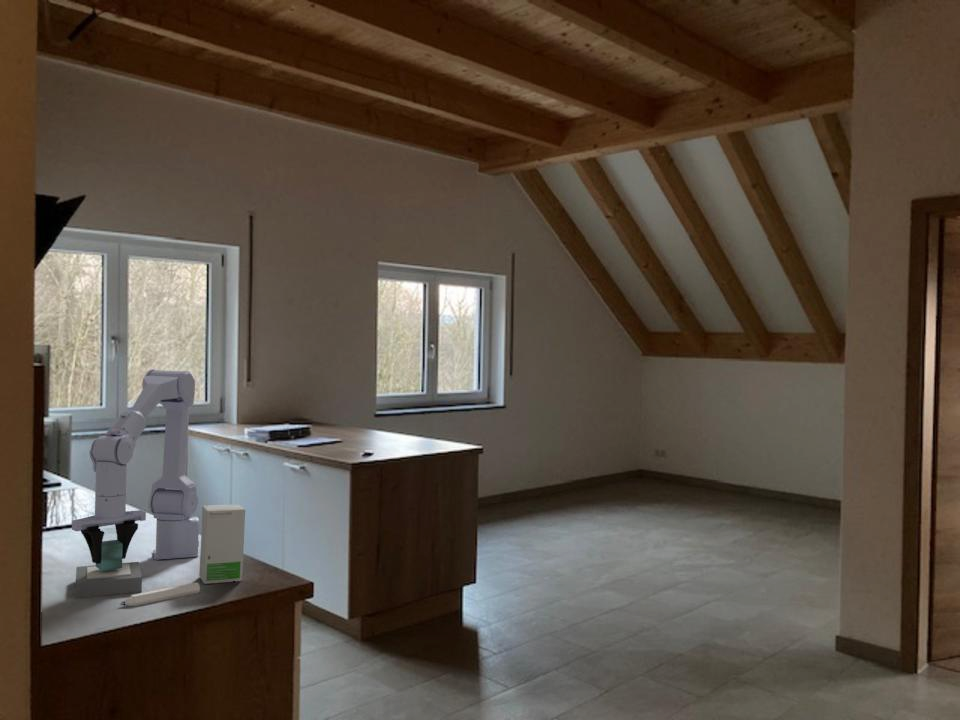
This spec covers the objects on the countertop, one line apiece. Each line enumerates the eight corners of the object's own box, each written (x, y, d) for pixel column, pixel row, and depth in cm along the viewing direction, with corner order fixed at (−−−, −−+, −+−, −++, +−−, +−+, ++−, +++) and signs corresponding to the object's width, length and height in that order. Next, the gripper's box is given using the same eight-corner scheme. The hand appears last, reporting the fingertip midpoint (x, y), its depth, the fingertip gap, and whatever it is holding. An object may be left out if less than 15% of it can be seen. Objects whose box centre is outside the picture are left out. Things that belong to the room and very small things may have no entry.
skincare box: (203, 585, 167) (205, 511, 167) (198, 576, 173) (200, 505, 173) (244, 581, 171) (246, 508, 171) (238, 572, 177) (240, 502, 177)
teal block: (116, 563, 167) (116, 539, 167) (122, 567, 164) (122, 543, 164) (95, 566, 164) (96, 542, 164) (101, 570, 161) (101, 546, 161)
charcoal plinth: (138, 575, 172) (138, 560, 172) (141, 591, 161) (142, 575, 161) (76, 581, 167) (76, 565, 167) (75, 598, 156) (75, 581, 156)
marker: (116, 613, 152) (196, 595, 163) (120, 610, 150) (200, 592, 162) (114, 599, 152) (193, 582, 164) (118, 596, 151) (198, 579, 163)
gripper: (134, 487, 172) (132, 550, 172) (65, 496, 161) (63, 563, 161) (151, 491, 168) (150, 556, 168) (82, 501, 156) (80, 570, 157)
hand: (109, 560), depth 164 cm, fingers closed on teal block, 5 cm apart
